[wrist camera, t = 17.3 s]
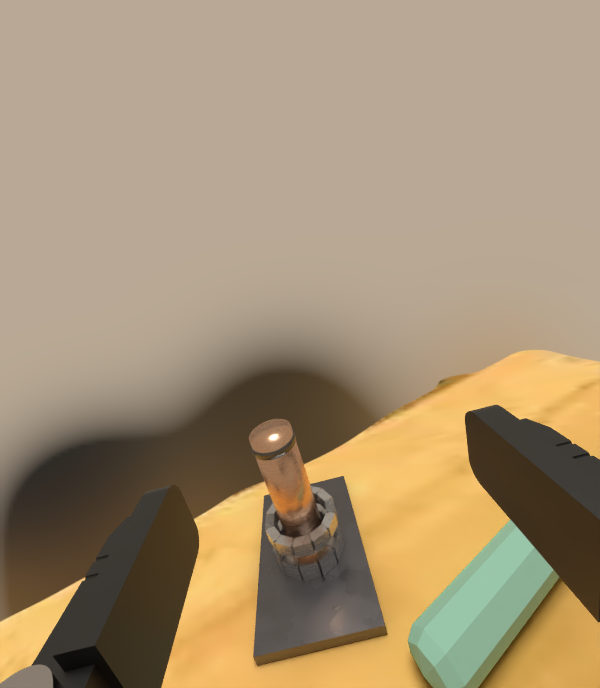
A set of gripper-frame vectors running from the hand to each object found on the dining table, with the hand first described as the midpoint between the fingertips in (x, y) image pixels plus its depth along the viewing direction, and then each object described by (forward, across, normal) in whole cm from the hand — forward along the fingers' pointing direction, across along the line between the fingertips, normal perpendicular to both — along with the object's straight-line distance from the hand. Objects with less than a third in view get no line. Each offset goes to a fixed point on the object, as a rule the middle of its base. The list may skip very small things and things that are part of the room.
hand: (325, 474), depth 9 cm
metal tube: (+21, +5, +27) cm, 34 cm away
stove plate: (+21, +5, +28) cm, 35 cm away
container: (+13, -14, +28) cm, 34 cm away
